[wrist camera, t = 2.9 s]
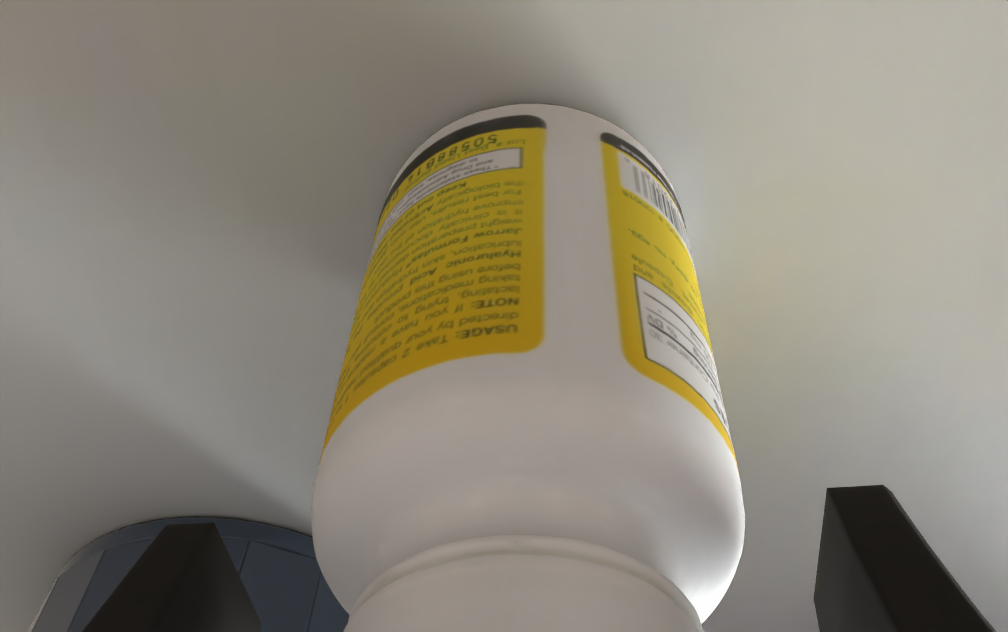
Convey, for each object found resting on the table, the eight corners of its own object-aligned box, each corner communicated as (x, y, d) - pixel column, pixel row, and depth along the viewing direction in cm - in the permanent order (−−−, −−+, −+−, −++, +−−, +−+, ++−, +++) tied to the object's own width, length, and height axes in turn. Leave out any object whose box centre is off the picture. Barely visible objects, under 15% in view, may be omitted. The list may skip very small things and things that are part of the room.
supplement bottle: (357, 311, 18) (218, 841, 11) (420, 54, 15) (286, 547, 7) (620, 375, 19) (670, 915, 11) (733, 143, 16) (910, 675, 8)
